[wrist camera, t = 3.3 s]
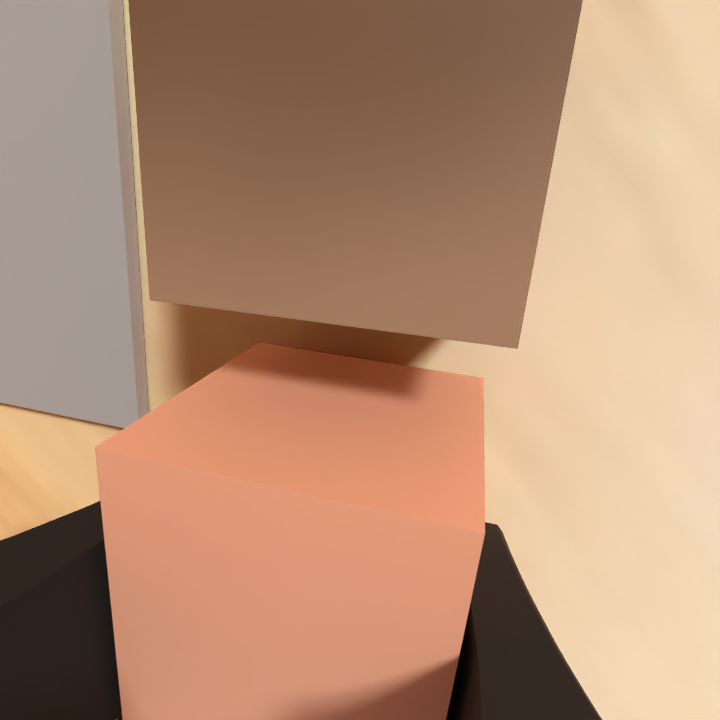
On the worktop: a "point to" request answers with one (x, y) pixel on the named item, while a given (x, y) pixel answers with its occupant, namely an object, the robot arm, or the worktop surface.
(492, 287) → the walnut block
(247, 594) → the terracotta block
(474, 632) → the robot arm
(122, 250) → the baseplate
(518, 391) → the worktop surface
